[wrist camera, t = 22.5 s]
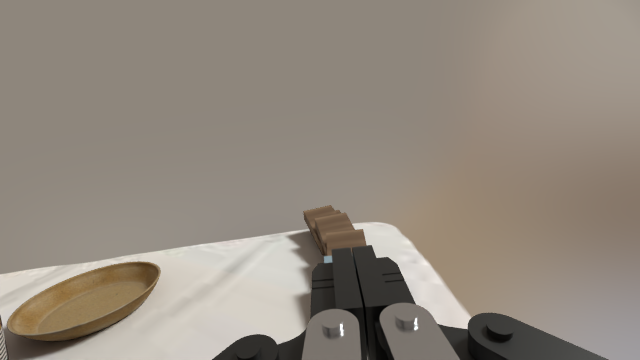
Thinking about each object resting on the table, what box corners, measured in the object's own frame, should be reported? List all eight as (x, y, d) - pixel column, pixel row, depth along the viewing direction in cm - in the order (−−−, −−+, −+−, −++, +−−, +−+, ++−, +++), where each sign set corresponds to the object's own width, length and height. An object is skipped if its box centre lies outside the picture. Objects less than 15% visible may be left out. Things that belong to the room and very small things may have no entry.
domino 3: (376, 289, 32) (362, 229, 41) (329, 293, 32) (326, 232, 41) (376, 300, 33) (363, 238, 42) (330, 304, 33) (327, 242, 42)
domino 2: (369, 256, 39) (345, 212, 48) (332, 264, 38) (314, 218, 47) (369, 266, 40) (345, 221, 49) (332, 274, 39) (315, 226, 48)
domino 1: (353, 237, 45) (330, 205, 54) (321, 245, 44) (303, 211, 53) (354, 246, 46) (331, 213, 54) (322, 255, 45) (304, 219, 53)
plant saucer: (83, 283, 45) (77, 266, 45) (184, 272, 45) (180, 255, 44) (-27, 364, 31) (-37, 342, 30) (119, 349, 31) (112, 326, 30)
